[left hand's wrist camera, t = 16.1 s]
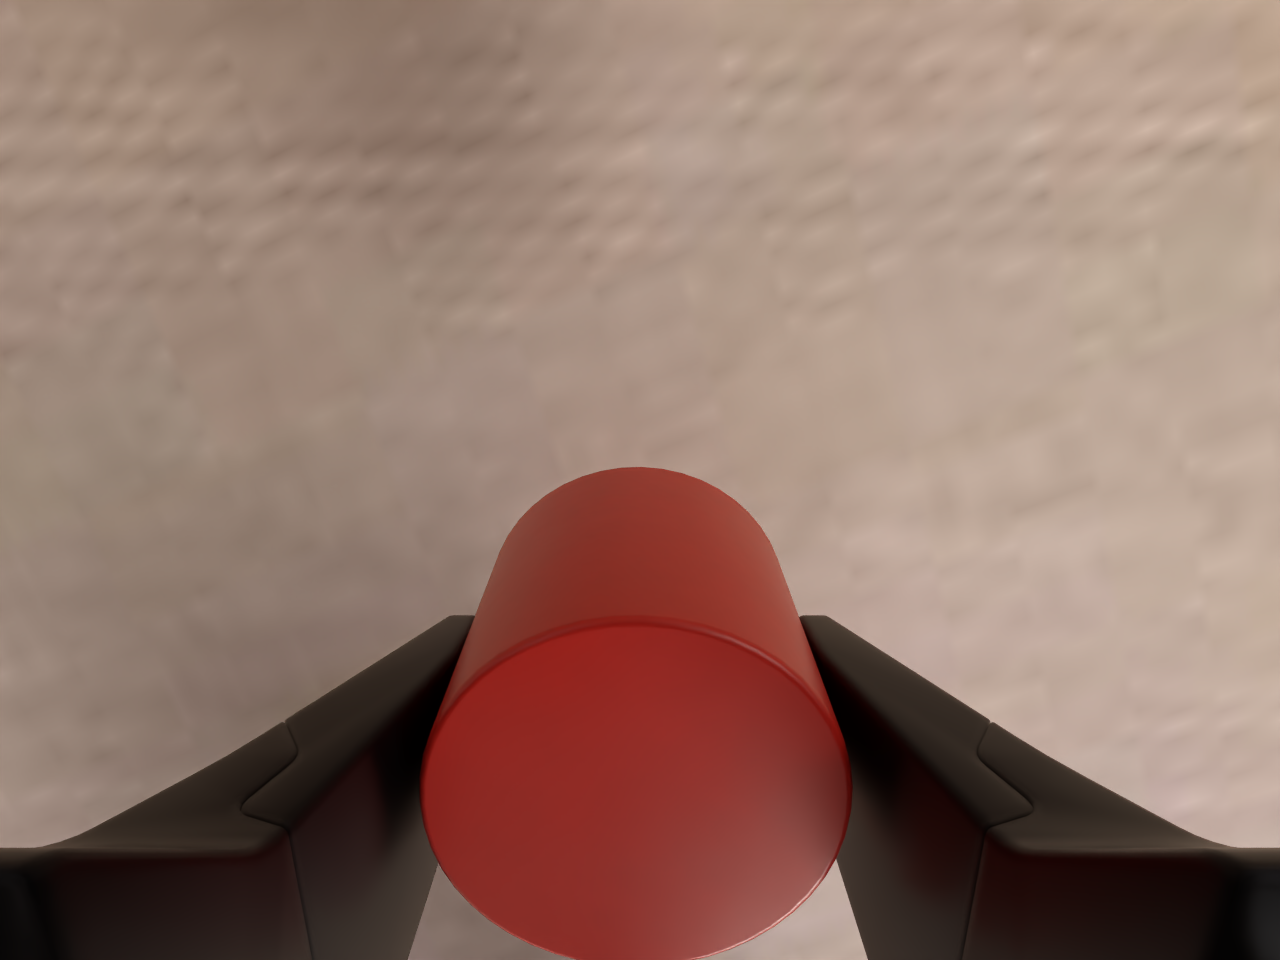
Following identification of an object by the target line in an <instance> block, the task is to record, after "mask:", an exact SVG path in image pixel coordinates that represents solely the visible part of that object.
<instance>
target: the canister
mask: <svg viewBox="0 0 1280 960" xmlns="http://www.w3.org/2000/svg"><path fill="white" fill-rule="evenodd" d="M852 793H853V783H852V773H851V763H850V760H849V756H848V752H847V748H846V745H845V741H844V738H843V735H842V733H841V730H840V727H839V725H838V722H837V719H836V716H835V714H834V711H833V708H832V706H831V703H830V700H829V697H828V695H827V692H826V689H825V687H824V684H823V681H822V678H821V676H820V673H819V670H818V668H817V665H816V662H815V659H814V657H813V654H812V651H811V649H810V646H809V643H808V640H807V638H806V635H805V632H804V630H803V627H802V624H801V621H800V619H799V616H798V613H797V611H796V608H795V605H794V602H793V600H792V597H791V594H790V591H789V589H788V586H787V583H786V581H785V578H784V575H783V572H782V570H781V567H780V564H779V562H778V559H777V556H776V554H775V552H774V550H773V547H772V545H771V543H770V541H769V539H768V538H767V536H766V535H765V533H764V531H763V530H762V528H761V527H760V525H759V524H758V523H757V522H756V521H755V520H754V518H753V517H752V516H751V515H750V514H749V512H748V511H746V510H745V509H744V508H743V507H742V506H741V505H740V504H739V503H737V502H736V501H735V500H734V499H733V498H731V497H730V496H728V495H727V494H725V493H724V492H722V491H721V490H719V489H718V488H716V487H714V486H712V485H710V484H708V483H706V482H704V481H702V480H700V479H697V478H694V477H691V476H688V475H685V474H683V473H679V472H674V471H669V470H665V469H657V468H646V467H630V468H617V469H611V470H604V471H599V472H596V473H593V474H589V475H586V476H582V477H580V478H578V479H575V480H573V481H571V482H568V483H566V484H564V485H562V486H560V487H559V488H557V489H555V490H554V491H552V492H550V493H549V494H547V495H546V496H545V497H543V498H542V499H541V500H540V501H538V502H537V503H536V504H535V505H533V506H532V507H531V508H530V509H529V510H528V511H527V512H526V513H525V514H524V515H523V516H522V518H521V519H520V520H519V521H518V522H517V524H516V525H515V526H514V528H513V529H512V531H511V532H510V533H509V535H508V537H507V539H506V541H505V543H504V544H503V546H502V548H501V550H500V553H499V555H498V558H497V560H496V563H495V566H494V568H493V571H492V573H491V576H490V579H489V581H488V584H487V586H486V589H485V592H484V594H483V597H482V599H481V602H480V605H479V607H478V610H477V612H476V615H475V618H474V620H473V623H472V625H471V628H470V631H469V633H468V636H467V638H466V641H465V644H464V646H463V649H462V651H461V654H460V657H459V659H458V662H457V664H456V667H455V670H454V672H453V675H452V677H451V680H450V683H449V685H448V688H447V690H446V693H445V696H444V698H443V701H442V703H441V706H440V709H439V711H438V714H437V716H436V719H435V722H434V724H433V727H432V729H431V732H430V735H429V738H428V741H427V744H426V747H425V750H424V753H423V758H422V764H421V770H420V776H419V801H420V807H421V813H422V819H423V824H424V828H425V831H426V834H427V837H428V840H429V843H430V846H431V849H432V851H433V853H434V855H435V857H436V859H437V861H438V863H439V865H440V867H441V868H442V870H443V871H444V873H445V874H446V876H447V877H448V878H449V880H450V881H451V883H452V884H453V886H454V887H455V888H456V889H457V890H458V891H459V892H460V894H461V895H462V896H463V897H464V898H465V899H466V900H467V901H468V902H469V903H470V904H471V905H472V906H473V907H474V908H475V909H476V910H478V911H479V912H480V913H481V914H482V915H484V916H485V917H486V918H487V919H488V920H490V921H491V922H493V923H494V924H496V925H497V926H499V927H500V928H502V929H503V930H505V931H506V932H508V933H509V934H511V935H513V936H515V937H517V938H519V939H521V940H523V941H525V942H527V943H529V944H531V945H533V946H536V947H539V948H541V949H544V950H546V951H549V952H552V953H554V954H558V955H561V956H565V957H569V958H572V959H576V960H696V959H700V958H705V957H708V956H711V955H714V954H717V953H720V952H723V951H726V950H729V949H732V948H734V947H736V946H739V945H741V944H743V943H745V942H747V941H750V940H752V939H754V938H756V937H757V936H759V935H761V934H762V933H764V932H766V931H767V930H769V929H771V928H773V927H774V926H776V925H777V924H778V923H780V922H781V921H782V920H784V919H785V918H786V917H787V916H789V915H790V914H791V913H793V912H794V911H795V910H796V909H797V908H798V907H799V906H800V905H801V904H802V903H803V902H804V901H805V900H806V899H807V898H808V897H809V896H810V895H811V894H812V893H813V892H814V890H815V889H816V888H817V887H818V885H819V884H820V883H821V882H822V880H823V879H824V878H825V876H826V875H827V873H828V871H829V870H830V868H831V866H832V864H833V863H834V861H835V859H836V858H837V855H838V853H839V850H840V848H841V845H842V843H843V840H844V838H845V835H846V831H847V826H848V822H849V818H850V813H851V808H852Z"/></svg>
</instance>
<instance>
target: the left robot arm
mask: <svg viewBox="0 0 1280 960" xmlns="http://www.w3.org/2000/svg"><path fill="white" fill-rule="evenodd" d="M474 618H475V616H473V615H453V616H449V617H447V618H446V619H444V620H442V621H441V622H439V623H438V624H436V625H434V626H433V627H431V628H430V629H428V630H427V631H425V632H423V633H422V634H420V635H419V636H417V637H416V638H414V639H412V640H411V641H409V642H408V643H406V644H405V645H403V646H401V647H400V648H398V649H397V650H395V651H393V652H392V653H390V654H389V655H387V656H386V657H384V658H382V659H381V660H379V661H378V662H376V663H375V664H373V665H371V666H370V667H368V668H367V669H365V670H363V671H362V672H360V673H359V674H357V675H356V676H354V677H352V678H351V679H349V680H348V681H346V682H345V683H343V684H341V685H340V686H338V687H337V688H335V689H333V690H332V691H330V692H329V693H327V694H326V695H324V696H322V697H321V698H319V699H318V700H316V701H314V702H313V703H311V704H310V705H308V706H307V707H305V708H303V709H302V710H300V711H299V712H297V713H295V714H294V715H292V716H291V717H289V718H288V719H286V720H285V723H283V722H282V723H279V724H278V725H276V726H275V727H273V728H272V729H270V730H269V731H267V732H265V733H264V734H262V735H261V736H259V737H257V738H256V739H254V740H252V741H251V742H249V743H247V744H246V745H244V746H242V747H241V748H239V749H238V750H236V751H234V752H233V753H231V754H229V755H228V756H226V757H224V758H222V759H220V760H219V761H217V762H215V763H213V764H211V765H210V766H208V767H206V768H204V769H202V770H200V771H199V772H197V773H195V774H193V775H191V776H190V777H188V778H186V779H184V780H182V781H180V782H178V783H177V784H175V785H173V786H171V787H169V788H167V789H165V790H163V791H162V792H160V793H158V794H156V795H154V796H152V797H150V798H148V799H147V800H145V801H143V802H141V803H139V804H137V805H135V806H134V807H132V808H130V809H128V810H126V811H124V812H122V813H120V814H119V815H117V816H115V817H113V818H111V819H109V820H107V821H105V822H104V823H102V824H100V825H98V826H96V827H94V828H92V829H90V830H88V831H86V832H84V833H82V834H80V835H78V836H75V837H72V838H69V839H67V840H64V841H61V842H58V843H54V844H50V845H47V846H43V847H37V848H0V960H407V959H408V956H409V953H410V950H411V947H412V944H413V941H414V937H415V934H416V931H417V928H418V925H419V922H420V919H421V915H422V912H423V909H424V906H425V903H426V900H427V897H428V894H429V890H430V887H431V884H432V881H433V878H434V875H435V872H436V868H437V865H438V861H437V859H436V857H435V855H434V853H433V851H432V849H431V846H430V843H429V840H428V837H427V834H426V831H425V828H424V824H423V819H422V813H421V807H420V801H419V776H420V770H421V764H422V758H423V753H424V750H425V747H426V744H427V741H428V738H429V735H430V732H431V729H432V727H433V724H434V722H435V719H436V716H437V714H438V711H439V709H440V706H441V703H442V701H443V698H444V696H445V693H446V690H447V688H448V685H449V683H450V680H451V677H452V675H453V672H454V670H455V667H456V664H457V662H458V659H459V657H460V654H461V651H462V649H463V646H464V644H465V641H466V638H467V636H468V633H469V631H470V628H471V625H472V623H473V620H474ZM799 619H800V621H801V624H802V627H803V630H804V632H805V635H806V638H807V640H808V643H809V646H810V649H811V651H812V654H813V657H814V659H815V662H816V665H817V668H818V670H819V673H820V676H821V678H822V681H823V684H824V687H825V689H826V692H827V695H828V697H829V700H830V703H831V706H832V708H833V711H834V714H835V716H836V719H837V722H838V725H839V727H840V730H841V733H842V735H843V738H844V741H845V745H846V748H847V752H848V756H849V760H850V763H851V773H852V783H853V793H852V808H851V813H850V818H849V822H848V826H847V831H846V835H845V838H844V840H843V843H842V845H841V848H840V850H839V853H838V855H837V858H836V860H837V863H838V866H839V869H840V872H841V875H842V879H843V882H844V885H845V888H846V891H847V894H848V898H849V901H850V904H851V907H852V910H853V913H854V917H855V920H856V923H857V926H858V929H859V933H860V936H861V939H862V942H863V945H864V948H865V952H866V955H867V958H868V960H1280V848H1236V847H1230V846H1227V845H1223V844H1219V843H1215V842H1212V841H1209V840H1207V839H1204V838H1201V837H1199V836H1196V835H1194V834H1192V833H1190V832H1188V831H1186V830H1184V829H1182V828H1179V827H1178V826H1176V825H1174V824H1172V823H1170V822H1168V821H1166V820H1165V819H1163V818H1161V817H1159V816H1157V815H1155V814H1153V813H1152V812H1150V811H1148V810H1146V809H1144V808H1142V807H1140V806H1139V805H1137V804H1135V803H1133V802H1131V801H1129V800H1127V799H1126V798H1124V797H1122V796H1120V795H1118V794H1116V793H1114V792H1113V791H1111V790H1109V789H1107V788H1105V787H1103V786H1101V785H1100V784H1098V783H1096V782H1094V781H1092V780H1090V779H1088V778H1087V777H1085V776H1083V775H1081V774H1079V773H1078V772H1076V771H1074V770H1072V769H1070V768H1069V767H1067V766H1065V765H1063V764H1061V763H1060V762H1058V761H1056V760H1054V759H1052V758H1051V757H1049V756H1047V755H1045V754H1044V753H1042V752H1040V751H1039V750H1037V749H1036V748H1034V747H1032V746H1031V745H1029V744H1027V743H1026V742H1024V741H1022V740H1021V739H1019V738H1017V737H1016V736H1014V735H1013V734H1011V733H1010V732H1008V731H1006V730H1005V729H1003V728H1002V727H1000V726H999V725H997V724H996V723H993V722H992V723H990V720H989V719H987V718H986V717H984V716H983V715H981V714H980V713H978V712H977V711H975V710H973V709H972V708H970V707H969V706H967V705H966V704H964V703H962V702H961V701H959V700H958V699H956V698H955V697H953V696H951V695H950V694H948V693H947V692H945V691H944V690H942V689H940V688H939V687H937V686H936V685H934V684H933V683H931V682H930V681H928V680H926V679H925V678H923V677H922V676H920V675H919V674H917V673H915V672H914V671H912V670H911V669H909V668H908V667H906V666H904V665H903V664H901V663H900V662H898V661H897V660H895V659H894V658H892V657H890V656H889V655H887V654H886V653H884V652H883V651H881V650H879V649H878V648H876V647H875V646H873V645H872V644H870V643H868V642H867V641H865V640H864V639H862V638H861V637H859V636H857V635H856V634H854V633H853V632H851V631H850V630H848V629H847V628H845V627H843V626H842V625H840V624H839V623H837V622H836V621H834V620H832V619H831V618H829V617H827V616H823V615H803V616H800V617H799Z"/></svg>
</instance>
